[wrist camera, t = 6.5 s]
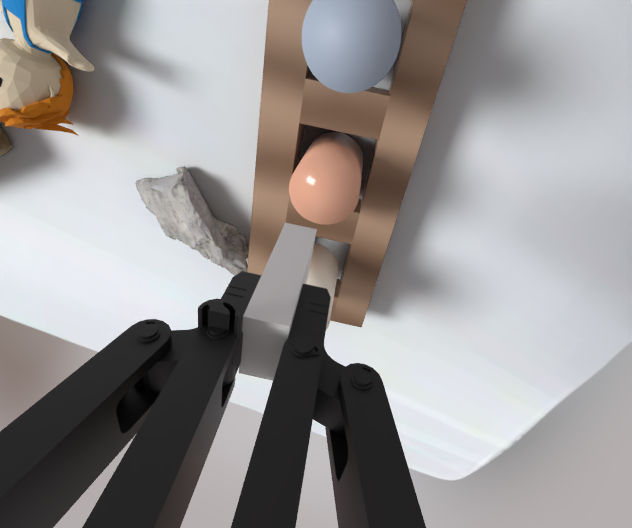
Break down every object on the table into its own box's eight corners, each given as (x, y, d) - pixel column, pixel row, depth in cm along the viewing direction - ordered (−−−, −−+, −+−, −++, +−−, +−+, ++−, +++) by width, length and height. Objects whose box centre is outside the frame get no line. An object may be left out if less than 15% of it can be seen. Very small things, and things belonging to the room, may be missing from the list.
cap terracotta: (310, 126, 29) (294, 149, 24) (369, 138, 29) (367, 165, 23) (302, 182, 32) (284, 216, 26) (355, 194, 32) (350, 231, 26)
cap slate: (327, -17, 22) (309, -34, 17) (405, -1, 22) (414, -13, 16) (314, 71, 25) (295, 83, 19) (384, 85, 25) (386, 101, 19)
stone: (215, 276, 40) (201, 299, 37) (133, 184, 35) (108, 202, 32) (261, 252, 38) (250, 275, 35) (180, 150, 33) (158, 164, 30)
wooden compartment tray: (288, -93, 23) (277, -108, 21) (476, -56, 23) (488, -67, 20) (253, 283, 40) (244, 301, 37) (362, 308, 39) (361, 327, 37)
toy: (70, -68, 20) (26, 168, 27) (157, -19, 26) (102, 167, 32) (-56, -157, 22) (-69, 82, 29) (48, -95, 28) (18, 94, 34)
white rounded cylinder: (289, 237, 32) (270, 283, 26) (343, 249, 32) (335, 298, 26) (283, 281, 35) (264, 331, 29) (332, 292, 35) (323, 345, 29)
